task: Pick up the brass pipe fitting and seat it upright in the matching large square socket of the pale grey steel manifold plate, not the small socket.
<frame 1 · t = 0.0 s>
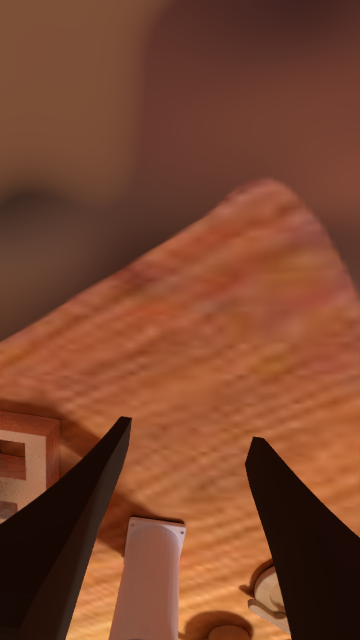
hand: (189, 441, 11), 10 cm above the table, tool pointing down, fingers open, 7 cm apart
manifold plate: (21, 464, 24), on the table
tableware set: (291, 626, 32), on the table
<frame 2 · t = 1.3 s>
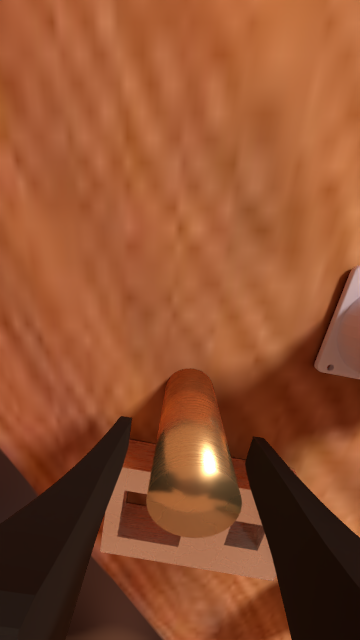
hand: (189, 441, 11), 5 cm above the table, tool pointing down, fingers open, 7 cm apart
manifold plate: (197, 494, 18), on the table
brass fitting: (189, 390, 16), on the table
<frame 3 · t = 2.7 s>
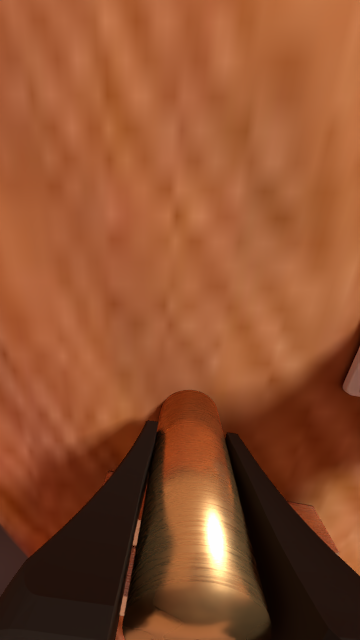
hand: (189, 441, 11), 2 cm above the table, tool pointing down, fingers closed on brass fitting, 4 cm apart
manifold plate: (198, 534, 15), on the table
brass fitting: (188, 415, 13), on the table, touching gripper
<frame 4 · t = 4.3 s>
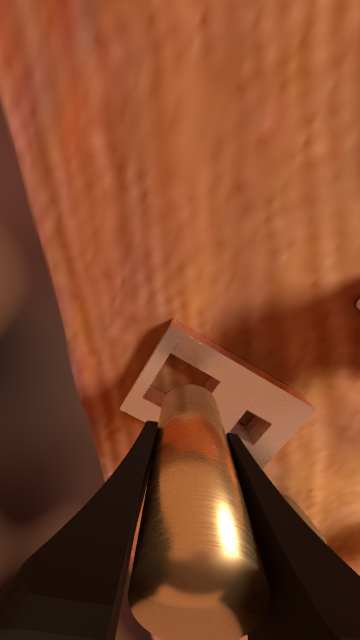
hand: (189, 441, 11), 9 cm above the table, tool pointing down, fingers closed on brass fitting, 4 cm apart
manifold plate: (212, 393, 20), on the table
squeeze bottle: (273, 507, 24), on the table
brass fitting: (189, 410, 13), point 7 cm above the table, touching gripper
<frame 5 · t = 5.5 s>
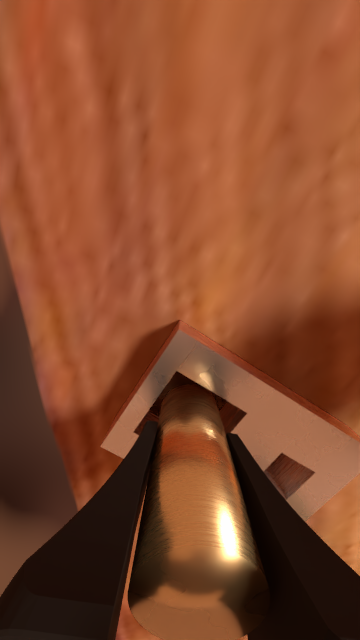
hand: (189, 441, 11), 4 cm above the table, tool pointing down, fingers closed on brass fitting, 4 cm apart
manifold plate: (229, 422, 15), on the table
brass fitting: (189, 410, 13), point 2 cm above the table, touching gripper
when the fingers open (4 cm above the table, at t = 6.2 s): brass fitting drops 2 cm, resting in manifold plate.
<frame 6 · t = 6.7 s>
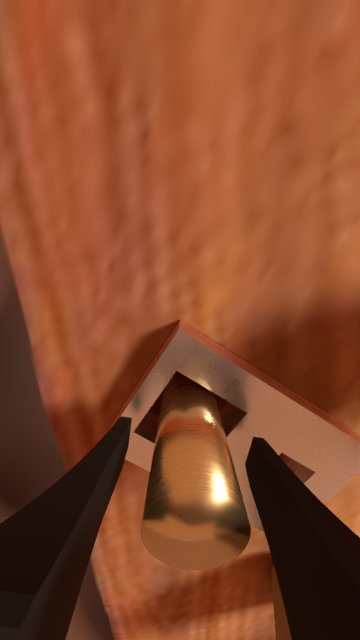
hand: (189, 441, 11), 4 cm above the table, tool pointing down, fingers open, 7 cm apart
manifold plate: (229, 422, 15), on the table
squeeze bottle: (298, 564, 19), on the table
brass fitting: (188, 396, 15), resting in manifold plate
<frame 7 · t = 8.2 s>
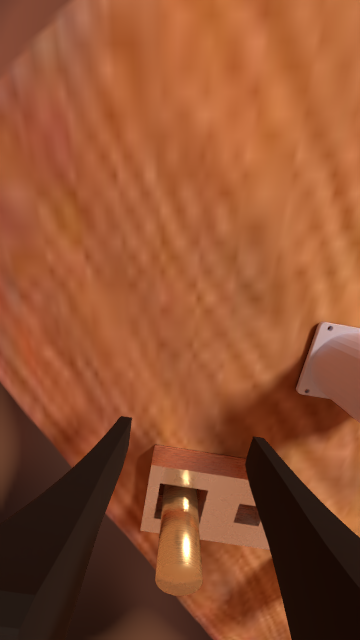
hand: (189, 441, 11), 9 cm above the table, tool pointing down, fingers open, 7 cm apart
manifold plate: (211, 486, 24), on the table
brass fitting: (180, 480, 24), resting in manifold plate
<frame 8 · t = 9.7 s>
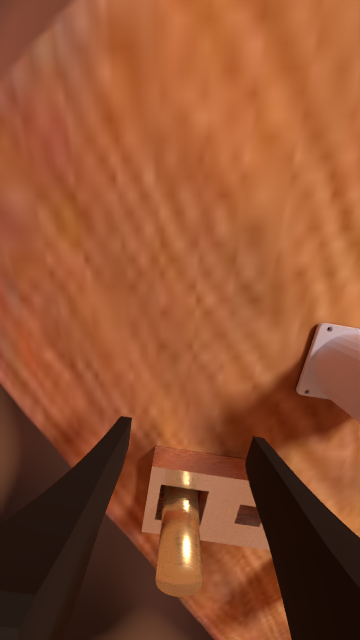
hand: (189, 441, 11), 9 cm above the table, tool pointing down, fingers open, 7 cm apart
manifold plate: (212, 486, 24), on the table
brass fitting: (181, 481, 24), resting in manifold plate
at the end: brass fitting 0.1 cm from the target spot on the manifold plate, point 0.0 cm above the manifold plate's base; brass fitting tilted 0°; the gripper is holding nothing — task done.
